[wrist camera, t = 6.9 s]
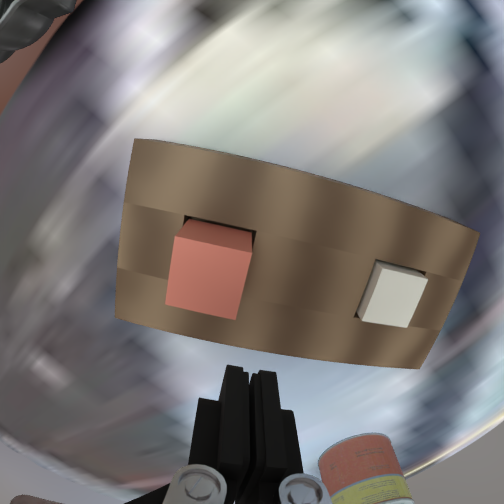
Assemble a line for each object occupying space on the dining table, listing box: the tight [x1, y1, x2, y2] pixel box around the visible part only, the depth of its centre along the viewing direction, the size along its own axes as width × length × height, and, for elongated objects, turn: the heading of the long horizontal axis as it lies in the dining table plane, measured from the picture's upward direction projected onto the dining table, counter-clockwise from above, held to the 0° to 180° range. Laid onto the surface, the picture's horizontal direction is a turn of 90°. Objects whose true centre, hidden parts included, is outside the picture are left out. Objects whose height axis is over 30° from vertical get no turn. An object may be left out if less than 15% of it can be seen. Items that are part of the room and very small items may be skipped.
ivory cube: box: [356, 259, 428, 328], centre depth 24 cm, size 4×4×4 cm
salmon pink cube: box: [165, 219, 252, 320], centre depth 20 cm, size 4×4×4 cm
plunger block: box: [115, 138, 480, 369], centre depth 25 cm, size 28×14×5 cm, turn 77°
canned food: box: [318, 433, 415, 504], centre depth 32 cm, size 11×11×12 cm
